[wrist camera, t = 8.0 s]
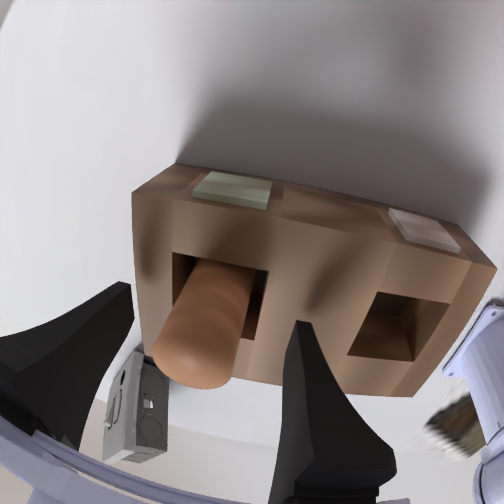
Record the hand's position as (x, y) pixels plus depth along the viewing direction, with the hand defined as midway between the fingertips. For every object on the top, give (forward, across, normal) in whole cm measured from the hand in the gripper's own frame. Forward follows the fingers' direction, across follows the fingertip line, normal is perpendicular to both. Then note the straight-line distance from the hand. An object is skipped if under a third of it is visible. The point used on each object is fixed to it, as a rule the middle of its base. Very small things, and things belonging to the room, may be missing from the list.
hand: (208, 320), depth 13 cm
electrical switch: (+7, +7, +16) cm, 19 cm away
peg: (+5, 0, 0) cm, 5 cm away
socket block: (+6, -4, 0) cm, 8 cm away
